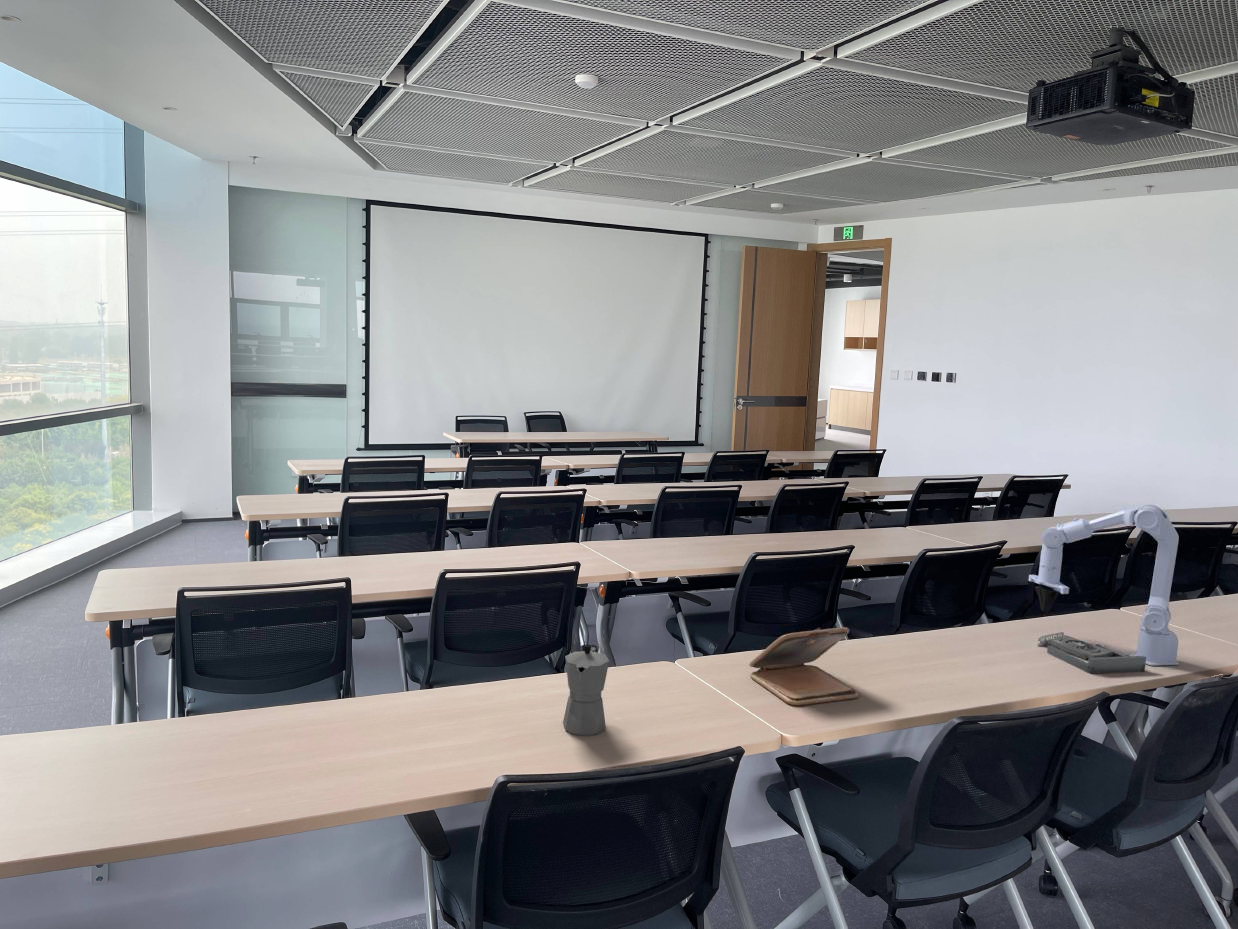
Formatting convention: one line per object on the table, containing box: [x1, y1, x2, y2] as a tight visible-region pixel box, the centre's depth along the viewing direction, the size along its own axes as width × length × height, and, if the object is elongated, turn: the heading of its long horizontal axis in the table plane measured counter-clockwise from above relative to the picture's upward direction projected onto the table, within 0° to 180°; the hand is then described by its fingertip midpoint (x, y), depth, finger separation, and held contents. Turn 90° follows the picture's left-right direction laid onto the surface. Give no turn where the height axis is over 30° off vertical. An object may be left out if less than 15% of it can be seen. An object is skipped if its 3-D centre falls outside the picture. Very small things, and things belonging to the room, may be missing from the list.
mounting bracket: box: [1046, 643, 1147, 675], centre depth 231 cm, size 17×16×4 cm
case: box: [748, 626, 859, 706], centre depth 202 cm, size 20×21×16 cm
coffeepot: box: [562, 644, 610, 737], centre depth 175 cm, size 15×9×18 cm, turn 171°
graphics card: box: [1037, 631, 1113, 660], centre depth 238 cm, size 17×4×12 cm
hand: (1045, 610), depth 250 cm, fingers closed
